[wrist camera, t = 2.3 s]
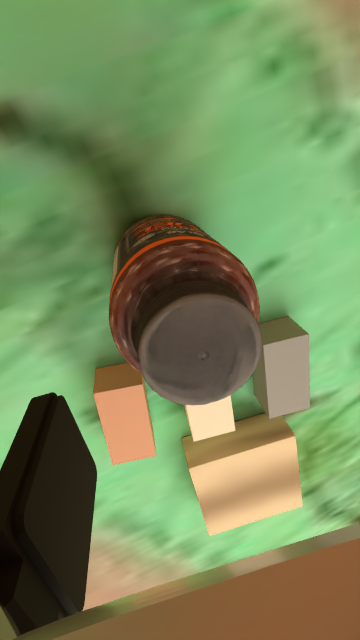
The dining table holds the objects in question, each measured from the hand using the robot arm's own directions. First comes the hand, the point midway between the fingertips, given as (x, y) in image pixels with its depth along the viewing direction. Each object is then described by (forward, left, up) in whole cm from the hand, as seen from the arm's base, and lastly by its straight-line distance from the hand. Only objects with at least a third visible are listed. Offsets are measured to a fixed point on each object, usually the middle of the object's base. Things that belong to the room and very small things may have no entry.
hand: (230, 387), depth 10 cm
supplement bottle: (-1, 0, -13) cm, 12 cm away
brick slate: (+8, +6, -13) cm, 16 cm away
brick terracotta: (+8, -5, -13) cm, 16 cm away
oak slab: (+17, +2, -12) cm, 21 cm away
